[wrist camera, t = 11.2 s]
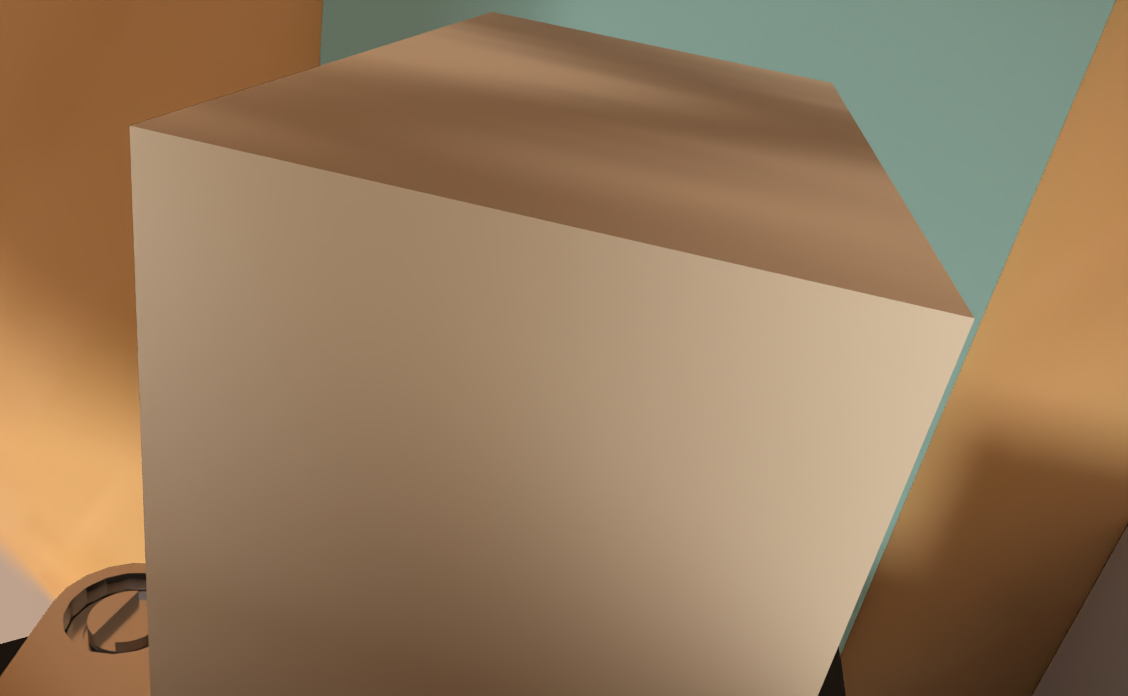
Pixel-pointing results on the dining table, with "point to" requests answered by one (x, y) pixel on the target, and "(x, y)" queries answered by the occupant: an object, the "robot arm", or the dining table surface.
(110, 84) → the dining table surface
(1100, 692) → the open square frame
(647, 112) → the block
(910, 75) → the mat
